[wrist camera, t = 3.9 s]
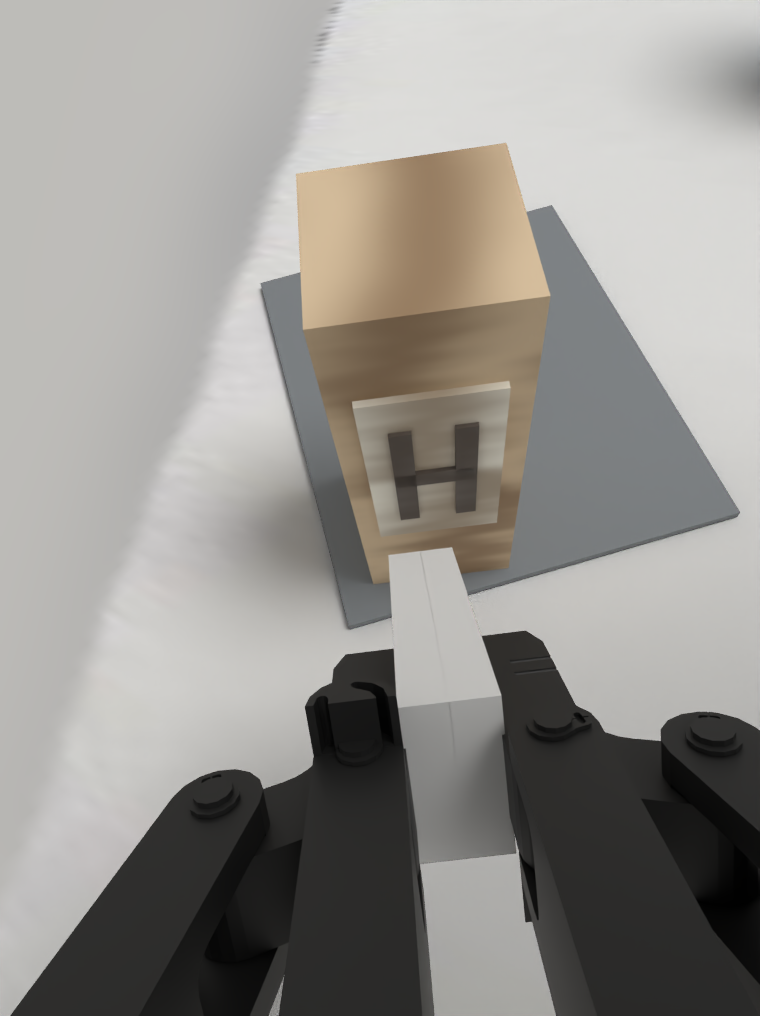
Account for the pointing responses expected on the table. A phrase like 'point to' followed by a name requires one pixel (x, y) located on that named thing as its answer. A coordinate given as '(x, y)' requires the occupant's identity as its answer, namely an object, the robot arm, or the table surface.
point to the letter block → (425, 346)
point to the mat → (538, 440)
